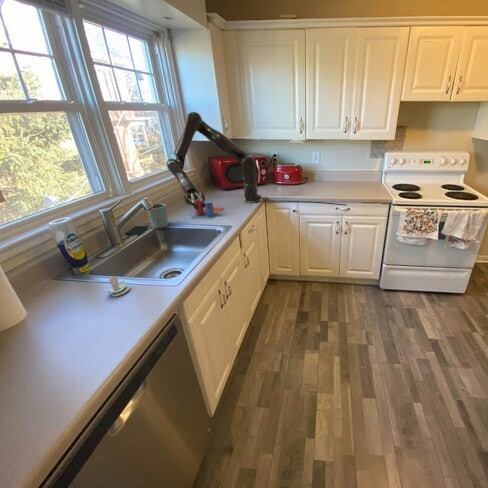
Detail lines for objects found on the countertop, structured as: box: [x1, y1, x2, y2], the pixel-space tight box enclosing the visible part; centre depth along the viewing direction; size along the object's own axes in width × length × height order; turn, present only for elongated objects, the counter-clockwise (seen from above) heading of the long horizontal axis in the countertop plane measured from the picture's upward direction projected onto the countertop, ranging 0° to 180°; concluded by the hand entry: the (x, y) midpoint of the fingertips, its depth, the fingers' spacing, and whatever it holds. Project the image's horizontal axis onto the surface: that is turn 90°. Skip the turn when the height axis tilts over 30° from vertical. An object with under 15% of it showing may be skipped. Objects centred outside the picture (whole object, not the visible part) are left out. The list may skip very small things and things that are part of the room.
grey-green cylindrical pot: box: [146, 203, 169, 229], centre depth 161 cm, size 10×10×12 cm
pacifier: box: [104, 275, 131, 297], centre depth 101 cm, size 7×6×6 cm
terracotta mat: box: [203, 206, 225, 213], centre depth 191 cm, size 13×9×1 cm
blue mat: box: [191, 212, 219, 219], centre depth 179 cm, size 13×10×1 cm
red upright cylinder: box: [194, 200, 205, 216], centre depth 179 cm, size 5×5×9 cm
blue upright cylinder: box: [204, 200, 215, 218], centre depth 177 cm, size 5×5×9 cm
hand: (200, 207), depth 177 cm, fingers closed on red upright cylinder, 4 cm apart
